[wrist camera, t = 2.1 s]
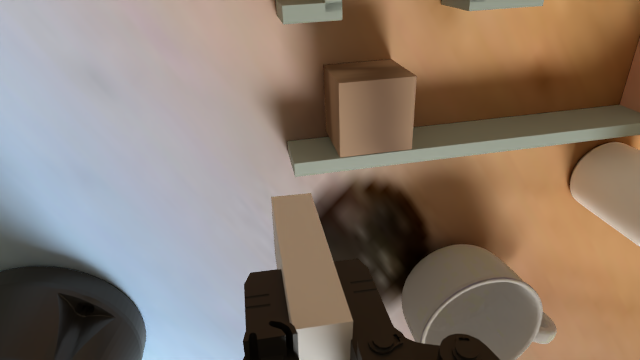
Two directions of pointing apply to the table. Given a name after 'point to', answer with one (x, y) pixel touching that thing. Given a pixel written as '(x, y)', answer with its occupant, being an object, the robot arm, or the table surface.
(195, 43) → the table surface
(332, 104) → the block
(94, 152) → the table surface
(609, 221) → the can
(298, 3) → the box
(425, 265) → the teacup
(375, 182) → the table surface
